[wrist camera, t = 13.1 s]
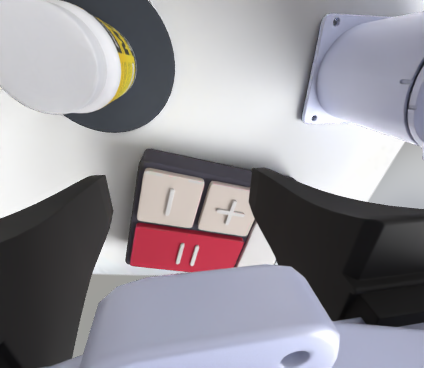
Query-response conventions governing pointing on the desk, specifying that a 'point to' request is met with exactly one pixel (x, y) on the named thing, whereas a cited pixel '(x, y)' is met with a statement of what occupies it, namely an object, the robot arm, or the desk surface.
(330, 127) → the desk surface
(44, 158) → the desk surface
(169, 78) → the coaster
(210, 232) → the calculator
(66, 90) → the supplement bottle
